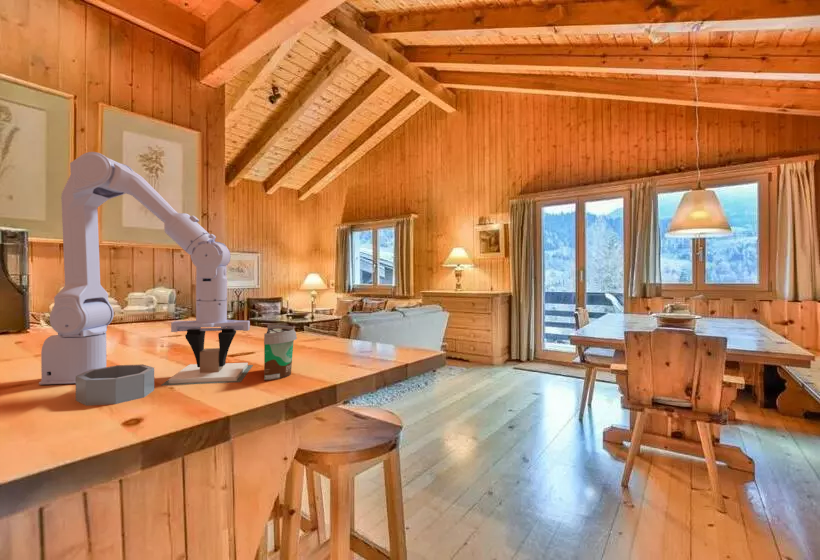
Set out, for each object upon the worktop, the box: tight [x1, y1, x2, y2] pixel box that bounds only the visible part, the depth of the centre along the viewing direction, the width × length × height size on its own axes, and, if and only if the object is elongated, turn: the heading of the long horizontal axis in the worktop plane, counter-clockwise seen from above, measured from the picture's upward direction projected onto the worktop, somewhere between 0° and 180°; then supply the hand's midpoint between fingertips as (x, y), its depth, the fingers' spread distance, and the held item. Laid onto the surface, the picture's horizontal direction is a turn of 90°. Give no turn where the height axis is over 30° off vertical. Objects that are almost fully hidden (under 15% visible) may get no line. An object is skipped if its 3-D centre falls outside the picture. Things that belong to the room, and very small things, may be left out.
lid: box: [168, 347, 249, 383], centre depth 83 cm, size 12×12×5 cm
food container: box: [263, 324, 298, 382], centre depth 84 cm, size 12×6×10 cm, turn 16°
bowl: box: [75, 363, 155, 407], centre depth 69 cm, size 10×10×4 cm
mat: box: [161, 364, 254, 386], centre depth 83 cm, size 14×14×1 cm
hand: (211, 365), depth 83 cm, fingers closed on lid, 3 cm apart
